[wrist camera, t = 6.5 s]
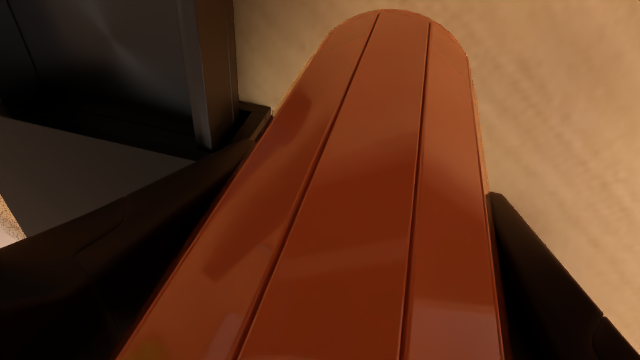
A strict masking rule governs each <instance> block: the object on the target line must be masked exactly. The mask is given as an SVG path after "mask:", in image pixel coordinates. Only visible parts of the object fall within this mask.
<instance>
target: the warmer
mask: <svg viewBox="0 0 640 360" xmlns="http://www.w3.org/2000/svg"><path fill="white" fill-rule="evenodd" d="M270 116H271V108H270V107H265V106H260V105H255V104H250V103H246V102H241V101H239V117H240V129H239V130H238V131H237V133H236V134H235V135H234V137H233V138H232V139H231V141H230V142H229V143H228V145H227V146H229V145H231V144H234V143H236V142H238V141H240V140H242V139H244V138H249V139H253V140H255V138H256V137H257V136H258V134H259V133H260V131H261V130H262V128H263V127H264V125H265V124H266V122H267V121H268V119H269V118H270ZM227 146H226V147H227ZM209 155H211V153H207V152H203V151H198V150H194V149H189V148H185V147H181V146H176V145H172V144H167V143H163V142H158V141H154V140H150V139H145V138H141V137H136V136H132V135H128V134H123V133H119V132H114V131H110V130H106V129H101V128H97V127H92V126H88V125H83V124H79V123H75V122H70V121H66V120H61V119H57V118H53V117H48V116H44V115H39V114H35V113H30V112H26V111H22V110H17V109H13V108H8V107H4V106H0V195H1V196H2V198H3V199H4V201H5V203H6V204H7V206H8V208H9V209H10V211H11V212H12V214H13V216H14V217H15V219H16V221H17V222H18V224H19V226H20V227H21V229H22V230H23V232H24V234H25V235H26V237H27V238H28V237H30V236H33V235H35V234H38V233H40V232H43V231H46V230H48V229H51V228H53V227H56V226H58V225H61V224H63V223H65V222H68V221H70V220H73V219H75V218H77V217H80V216H82V215H85V214H87V213H89V212H91V211H94V210H96V209H98V208H100V207H102V206H104V205H107V204H109V203H111V202H113V201H115V200H117V199H119V198H121V197H126V196H127V195H128V194H130V193H132V192H134V191H136V190H138V189H140V188H142V187H144V186H146V185H148V184H151V183H153V182H155V181H157V180H159V179H161V178H163V177H165V176H167V175H169V174H171V173H173V172H175V171H178V170H180V169H182V168H184V167H186V166H188V165H190V164H192V163H194V162H196V161H198V160H200V159H202V158H204V157H207V156H209Z"/></svg>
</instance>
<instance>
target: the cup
mask: <svg viewBox="0 0 640 360" xmlns="http://www.w3.org/2000/svg"><path fill="white" fill-rule="evenodd" d="M107 360H513V358H512V351H511V344H510V336H509V329H508V322H507V315H506V308H505V300H504V293H503V286H502V279H501V271H500V264H499V257H498V250H497V242H496V235H495V228H494V221H493V213H492V206H491V199H490V192H489V184H488V177H487V170H486V163H485V155H484V148H483V141H482V134H481V126H480V119H479V112H478V105H477V98H476V93H475V88H474V83H473V79H472V72H471V68H470V64H469V60H468V57H467V56H466V53H465V52H464V50H463V49H462V47H461V46H460V44H459V43H458V41H457V40H456V39H455V38H454V37H453V36H452V34H451V33H450V32H449V31H447V30H446V29H445V28H444V27H443V26H441V25H440V24H438V23H437V22H435V21H433V20H432V19H430V18H428V17H425V16H423V15H421V14H418V13H414V12H410V11H407V10H398V9H380V10H374V11H369V12H365V13H362V14H359V15H356V16H354V17H352V18H350V19H348V20H346V21H345V22H343V23H341V24H340V25H338V26H337V27H335V28H334V29H333V30H331V31H330V33H329V34H328V35H327V36H326V38H325V39H324V40H323V41H322V43H321V44H320V46H319V47H318V48H317V50H316V51H315V52H314V53H313V55H312V56H311V57H310V59H309V60H308V61H307V63H306V64H305V66H304V67H303V69H302V70H301V72H300V73H299V75H298V76H297V78H296V79H295V81H294V82H293V84H292V85H291V87H290V88H289V89H288V91H287V92H286V94H285V95H284V97H283V98H282V100H281V101H280V103H279V104H278V106H277V107H276V109H275V110H274V112H273V113H272V115H271V116H270V118H269V119H268V121H267V122H266V124H265V125H264V127H263V128H262V130H261V131H260V133H259V134H258V136H257V137H256V138H255V140H254V141H253V143H252V144H251V146H250V147H249V149H248V150H247V152H246V153H245V155H244V156H243V158H242V159H241V161H240V162H239V164H238V165H237V167H236V168H235V170H234V171H233V173H232V174H231V176H230V177H229V179H228V180H227V182H226V183H225V185H224V186H223V188H222V189H221V190H220V192H219V193H218V195H217V196H216V198H215V199H214V201H213V202H212V204H211V205H210V207H209V208H208V210H207V211H206V213H205V214H204V216H203V217H202V219H201V220H200V222H199V223H198V225H197V226H196V228H195V229H194V231H193V232H192V234H191V235H190V237H189V238H188V239H187V241H186V242H185V244H184V245H183V247H182V248H181V250H180V251H179V253H178V254H177V256H176V257H175V259H174V260H173V262H172V263H171V265H170V266H169V268H168V269H167V271H166V272H165V274H164V275H163V277H162V278H161V280H160V281H159V283H158V284H157V286H156V287H155V288H154V290H153V291H152V293H151V294H150V296H149V297H148V299H147V300H146V302H145V303H144V305H143V306H142V308H141V309H140V311H139V312H138V314H137V315H136V317H135V318H134V320H133V321H132V323H131V324H130V326H129V327H128V329H127V330H126V332H125V333H124V335H123V336H122V338H121V339H120V340H119V342H118V343H117V345H116V346H115V348H114V349H113V351H112V352H111V354H110V355H109V357H108V358H107Z"/></svg>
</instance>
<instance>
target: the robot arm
mask: <svg viewBox="0 0 640 360" xmlns="http://www.w3.org/2000/svg"><path fill="white" fill-rule="evenodd" d="M253 141H254V140H253V139H249V138H244V139H242V140H240V141H238V142H236V143H234V144H231V145H229V146H227V147H225V148H223V149H221V150H219V151H217V152H215V153H213V154H211V155H209V156H207V157H204V158H202V159H200V160H198V161H196V162H194V163H192V164H190V165H188V166H186V167H184V168H182V169H180V170H178V171H175V172H173V173H171V174H169V175H167V176H165V177H163V178H161V179H159V180H157V181H155V182H153V183H151V184H148V185H146V186H144V187H142V188H140V189H138V190H136V191H134V192H132V193H130V194H128V195H127V196H126V197H121V198H119V199H117V200H115V201H113V202H111V203H109V204H107V205H104V206H102V207H100V208H98V209H96V210H94V211H91V212H89V213H87V214H85V215H82V216H80V217H77V218H75V219H73V220H70V221H68V222H65V223H63V224H61V225H58V226H56V227H53V228H51V229H48V230H46V231H43V232H40V233H38V234H35V235H33V236H30V237H28V238H25V239H23V240H20V241H18V242H15V243H13V244H10V245H8V246H5V247H3V248H0V360H107V358H108V357H109V355H110V354H111V352H112V351H113V349H114V348H115V346H116V345H117V343H118V342H119V340H120V339H121V338H122V336H123V335H124V333H125V332H126V330H127V329H128V327H129V326H130V324H131V323H132V321H133V320H134V318H135V317H136V315H137V314H138V312H139V311H140V309H141V308H142V306H143V305H144V303H145V302H146V300H147V299H148V297H149V296H150V294H151V293H152V291H153V290H154V288H155V287H156V286H157V284H158V283H159V281H160V280H161V278H162V277H163V275H164V274H165V272H166V271H167V269H168V268H169V266H170V265H171V263H172V262H173V260H174V259H175V257H176V256H177V254H178V253H179V251H180V250H181V248H182V247H183V245H184V244H185V242H186V241H187V239H188V238H189V237H190V235H191V234H192V232H193V231H194V229H195V228H196V226H197V225H198V223H199V222H200V220H201V219H202V217H203V216H204V214H205V213H206V211H207V210H208V208H209V207H210V205H211V204H212V202H213V201H214V199H215V198H216V196H217V195H218V193H219V192H220V190H221V189H222V188H223V186H224V185H225V183H226V182H227V180H228V179H229V177H230V176H231V174H232V173H233V171H234V170H235V168H236V167H237V165H238V164H239V162H240V161H241V159H242V158H243V156H244V155H245V153H246V152H247V150H248V149H249V147H250V146H251V144H252V143H253ZM489 192H490V191H489ZM490 199H491V206H492V213H493V221H494V228H495V235H496V242H497V250H498V257H499V264H500V271H501V279H502V286H503V293H504V300H505V308H506V315H507V322H508V329H509V336H510V344H511V351H512V358H513V360H640V355H639V354H638V353H637V352H636V350H635V349H634V348H633V347H632V346H631V345H630V344H629V342H628V341H627V340H626V339H625V338H624V337H623V336H622V335H621V333H620V332H619V331H618V330H617V329H616V328H615V326H614V325H613V324H612V323H611V322H610V320H609V319H608V318H607V317H603V312H602V311H601V310H600V309H599V308H598V307H597V305H596V304H595V303H594V302H593V301H592V299H591V298H590V297H589V296H588V295H587V294H586V292H585V291H584V290H583V289H582V288H581V287H580V285H579V284H578V283H577V282H576V281H575V279H574V278H573V277H572V276H571V275H570V274H569V272H568V271H567V270H566V269H565V268H564V267H563V265H562V264H561V263H560V262H559V261H558V259H557V258H556V257H555V256H554V255H553V254H552V252H551V251H550V250H549V249H548V248H547V246H546V245H545V244H544V243H543V242H542V241H541V239H540V238H539V237H538V236H537V235H536V234H535V232H534V231H533V230H532V229H531V228H530V226H529V225H528V224H527V223H526V222H525V221H524V219H523V218H522V217H521V216H520V215H519V214H518V212H517V211H516V210H515V209H514V208H513V206H512V205H511V204H510V203H509V202H508V201H507V199H506V198H505V197H504V196H503V195H502V194H499V193H495V192H490Z"/></svg>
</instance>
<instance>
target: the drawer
mask: <svg viewBox="0 0 640 360" xmlns="http://www.w3.org/2000/svg"><path fill="white" fill-rule="evenodd" d="M0 106H4V107H8V108H13V109H17V110H22V111H26V112H30V113H35V114H39V115H44V116H48V117H53V118H57V119H61V120H66V121H70V122H75V123H79V124H83V125H88V126H92V127H97V128H101V129H106V130H110V131H114V132H119V133H123V134H128V135H132V136H136V137H141V138H145V139H150V140H154V141H158V142H163V143H167V144H172V145H176V146H181V147H185V148H189V149H194V150H198V151H203V152H207V153H211V154H213V153H215V152H217V151H219V150H221V149H223V148H225V147H226V146H227V145H228V143H229V142H230V141H231V139H232V138H233V137H234V135H235V134H236V133H237V131H238V130H239V129H240V117H239V98H238V80H237V62H236V43H235V25H234V6H233V0H0Z"/></svg>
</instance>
